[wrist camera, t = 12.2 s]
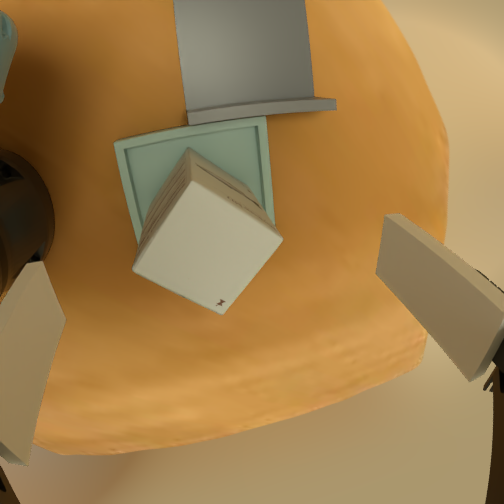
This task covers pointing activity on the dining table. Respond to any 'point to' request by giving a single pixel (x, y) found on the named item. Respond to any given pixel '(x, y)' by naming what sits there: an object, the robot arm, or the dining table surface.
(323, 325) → the dining table surface
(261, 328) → the dining table surface
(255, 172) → the tray
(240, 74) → the bay
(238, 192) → the supplement box
